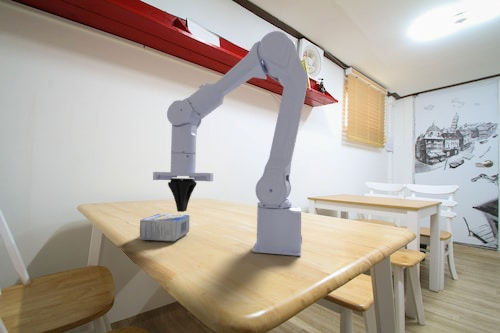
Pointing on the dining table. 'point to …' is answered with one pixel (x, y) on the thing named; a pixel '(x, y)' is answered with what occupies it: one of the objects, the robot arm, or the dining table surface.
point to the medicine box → (164, 227)
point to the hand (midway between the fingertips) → (181, 211)
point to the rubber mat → (164, 240)
